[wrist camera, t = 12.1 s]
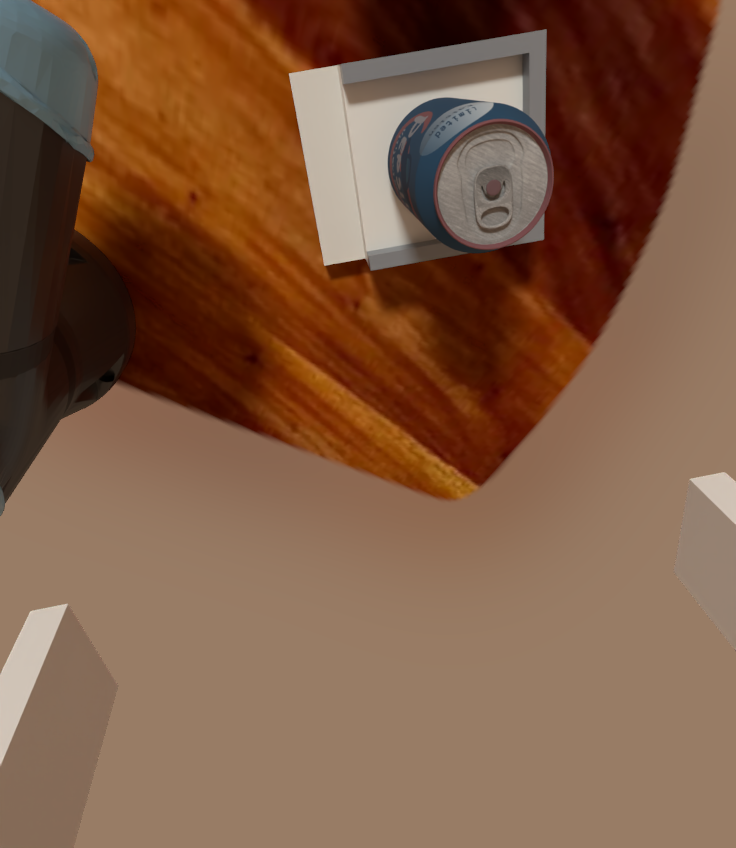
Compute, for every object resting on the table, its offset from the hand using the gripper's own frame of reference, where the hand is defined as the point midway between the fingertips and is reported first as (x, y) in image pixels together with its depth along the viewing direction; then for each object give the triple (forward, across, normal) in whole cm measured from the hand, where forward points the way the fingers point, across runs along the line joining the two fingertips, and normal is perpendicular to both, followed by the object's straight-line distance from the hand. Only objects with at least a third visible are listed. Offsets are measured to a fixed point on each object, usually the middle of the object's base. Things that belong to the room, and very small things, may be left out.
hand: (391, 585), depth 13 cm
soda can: (+31, +8, +4) cm, 33 cm away
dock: (+35, +8, +4) cm, 36 cm away
